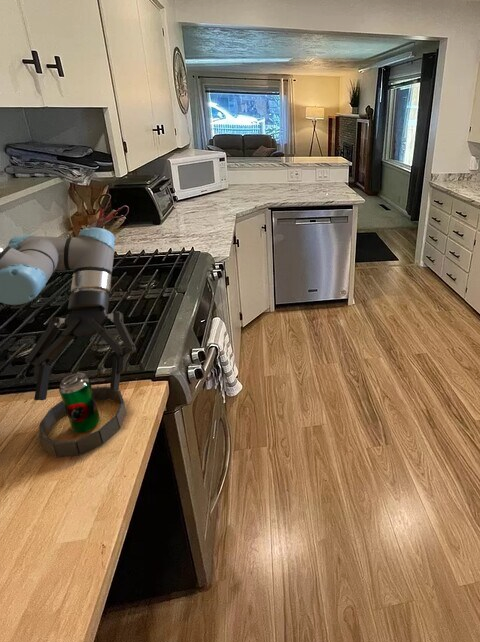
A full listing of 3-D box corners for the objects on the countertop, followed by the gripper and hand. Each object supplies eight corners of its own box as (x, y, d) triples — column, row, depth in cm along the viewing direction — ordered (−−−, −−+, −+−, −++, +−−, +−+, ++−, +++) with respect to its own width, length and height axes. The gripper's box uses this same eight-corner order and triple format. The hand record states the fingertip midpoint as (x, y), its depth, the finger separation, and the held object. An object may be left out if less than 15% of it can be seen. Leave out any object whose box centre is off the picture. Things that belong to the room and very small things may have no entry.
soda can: (105, 422, 76) (93, 377, 72) (80, 439, 72) (65, 393, 68) (93, 411, 79) (80, 368, 74) (67, 428, 75) (52, 383, 70)
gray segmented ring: (26, 441, 72) (21, 428, 70) (94, 391, 84) (91, 379, 83) (77, 468, 67) (72, 454, 65) (140, 410, 79) (138, 398, 78)
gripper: (154, 293, 86) (149, 386, 78) (37, 303, 82) (19, 404, 73) (144, 283, 80) (138, 385, 71) (17, 294, 75) (-6, 404, 67)
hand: (77, 395), depth 72 cm, fingers open, 13 cm apart
